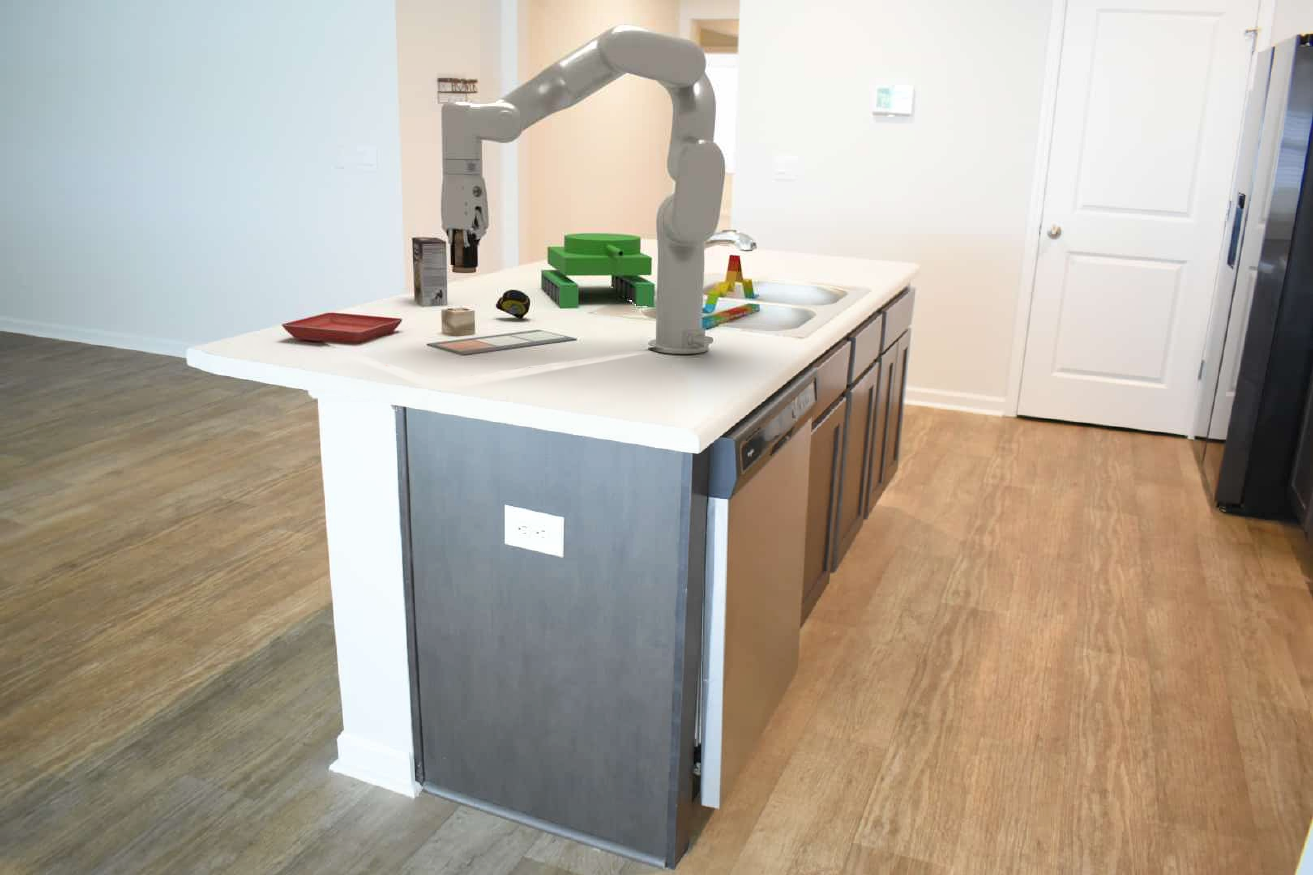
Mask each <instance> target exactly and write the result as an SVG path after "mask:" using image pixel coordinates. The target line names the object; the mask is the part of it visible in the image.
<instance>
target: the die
mask: <svg viewBox="0 0 1313 875" xmlns="http://www.w3.org/2000/svg"><path fill="white" fill-rule="evenodd" d="M475 312H476V311H475V310H474V309H470V308H466V307H462V306H461V307H452V308H451V307H449V308H444V309H443V308H442V309H441V312H440V313H441V315H440V316H441V319H440V320H441V334H445V335H449V336H453V337H460V336H467V335H476V316H475V314H476V313H475Z"/></svg>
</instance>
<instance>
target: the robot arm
mask: <svg viewBox="0 0 1313 875" xmlns="http://www.w3.org/2000/svg"><path fill="white" fill-rule="evenodd" d="M706 68H707V60H706V55H705V53H704V51H703V49H702V48H701V47H700V46H699V45H698V44H697V43H695V42H694V41H692V40H691V39H687V38H683V37H679V36H675V35H671V34H666V33H662V32H659V31H655V30H650V29H647V28H643V27H639V26H637V25H636V26H635V25H632V24H619V25H616V26H613V27H612V28H609V29H607V30H605V31H604V32H602V33H600V34H598V35H597V36H595V37H594V38H592V39H591V40H589V41H587V42H586V43H584V44H582V45H581V46H579V47H578V48H576V49H575V50H572V51H571V52H569V53H568V54H567V55H564V56H563V57H561V58H560V59H558V60H556V61H554V62H553V63H552V64H550V65H548V66H547V67H545V68H544V69H543V70H542V71H540V73H538V74H537V75H535V76H533V77H532V78H531V79H529V80H528V81H526V82H524V83H523V84H521V85H520V86H518V87H517V88H515V89H513V90H512V91H510V92H508V93H507V94H505V95H503V96H502V97H500V98H499V99H497V100H495V101H494V102H485V103H477V102H473V101H463V100H462V101H461V100H460V101H458V100H457V101H453V100H450V101H446V102H444V103H443V105H441V110H440V111H441V116H440V117H441V119H440V120H441V121H440V122H441V158H442V162H441V163H442V164H441V165H442V166H441V168H442V183H441V194H440V198H441V199H440V215H441V229H442V230H443V231H444V233H445V234H446V236H447V238H448V239H447V241H448V245H449V251H450V252H449V254H450V255H449V256H450V257H449V258H450V265H451V267H452V266H455V242H456V241H455V234H456V232H457V231H459V230H463V236H464V245H465V247H462V263H463V267H464V268H472V267H476V268H477V267H478V265H479V256H478V255H479V247H480V241H481V239H482V238H483V237H484V236H485V235H487V229H488V228H489V227H490V226H489V225H490V224H489V223H490V222H489V219H490V217H489V204H488V203H489V202H488V192H487V187H486V186H487V185H486V181H485V177H483V174H484V172H483V141H489V142H494V143H500V144H508V143H512V142H514V141H515V140H517V139H518V138H520V136H521V135H522V133H523V131H525V130H527V129H528V128H530V127H531V126H533V125H535V124H536V123H538V122H540V121H541V120H544V119H546V118H547V117H549V116H551V115H553V114H555V113H559V112H560V111H564V110H567V109H569V108H571V107H573V106H575V105H576V104H578V103H580V102H582V101H583V100H585V99H587V98H589V97H590V96H592V95H593V94H595V93H596V92H598V91H600V90H602V89H603V88H605V87H606V86H608V85H610V84H611V83H612V82H615V81H616V80H618V79H619V78H620V77H623V76H624V75H626V74H629V75H630V74H631V75H634V76H636V77H637V76H638V77H639V78H640V77H641V78H644V79H649V80H652V81H655V82H657V83H658V84H659V85H661V87H663V88H665V90H666V91H667V93H668V95H669V97H670V99H671V102H672V120H671V122H672V123H671V131H670V139H669V146H668V152H667V160H666V168H667V172H668V174H669V177H670V178H671V179H672V181H674V182H675V186H674V193H673V194H671V195H669V196H668V197H666V198H665V199H663V200H662V202H661V204H660V205H659V207H658V210H657V212H656V221H655V224H656V225H655V227H656V241H657V243H656V244H657V279H656V311H655V312H656V314H655V315H656V316H655V317H656V318H655V339H652V340H649V341H648V343H647V344H648V345H649V346H651V347H648V349H649V350H651V351H653V352H657V353H664V354H675V355H676V354H677V355H691V354H700V353H704V352H705V353H706V352H707V351H709V346H710V344H713V342H714V337H712V336H707V335H706V329H702V317H703V313H702V310H703V308H704V305H703V304H704V282H705V281H704V278H705V277H704V275H705V245H704V244H705V243H707V242H708V241H709V240H711V238H712V237H713V235H715V233H716V231H717V227H718V224H719V221H720V215H721V208H722V201H723V193H724V185H725V178H726V176H725V175H726V161H725V156H724V153H723V151H722V149H721V148H720V147H719V145H718V144H717V143H715V142H714V140H715V139H714V138H715V131H716V130H715V128H716V116H717V114H716V113H717V109H716V108H717V101H716V96H715V90H714V88H713V85H712V83H711V80H710V78H709V75H708V74H707V73H706ZM469 233H471V236H470V237H469Z"/></svg>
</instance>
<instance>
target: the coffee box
mask: <svg viewBox="0 0 1313 875" xmlns="http://www.w3.org/2000/svg"><path fill="white" fill-rule="evenodd" d="M411 243H412V247H411V248H412V269H413V270H412V272H413V293H414V295H413V296H414V302H415V303H417V304H418V305H419V306H421V307H426V308H427V307H447V306H448V264H447V263H448V262H447V259H448V257H447V241H446V240H443V239H441V238H439V237H427V236H426V237H423V236H422V237H421V236H420V237H419V236H417V237H416V236H415V237H411Z"/></svg>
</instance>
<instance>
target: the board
mask: <svg viewBox="0 0 1313 875" xmlns="http://www.w3.org/2000/svg"><path fill="white" fill-rule="evenodd" d="M572 341H577V338H576V337H573V336H572V337H571V336H567V335H563V334H559V333H555V332H551V331H550V332H549V331H545V330H541V329H533V330H532V329H531V330H524V331H518V332H509V333H502V334H494V335H493V334H492V335H486V336H485V335H484V336H477V337H471V338H469V337H468V338H462V339H461V338H460V339H454V340H446V341H438V342H437V341H436V342H431V343H430V342H429V343H426V346H429V347H432V348H435V349H440V350H443V351H446V352H450V353H454V354H456V355H460V356H470V355H477V354H484V353H493V352H500V351H506V350H513V349H520V348H521V349H523V348H529V347H535V346H541V345H551V344H556V343H557V344H558V343H563V342H565V343H566V342H572Z"/></svg>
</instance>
